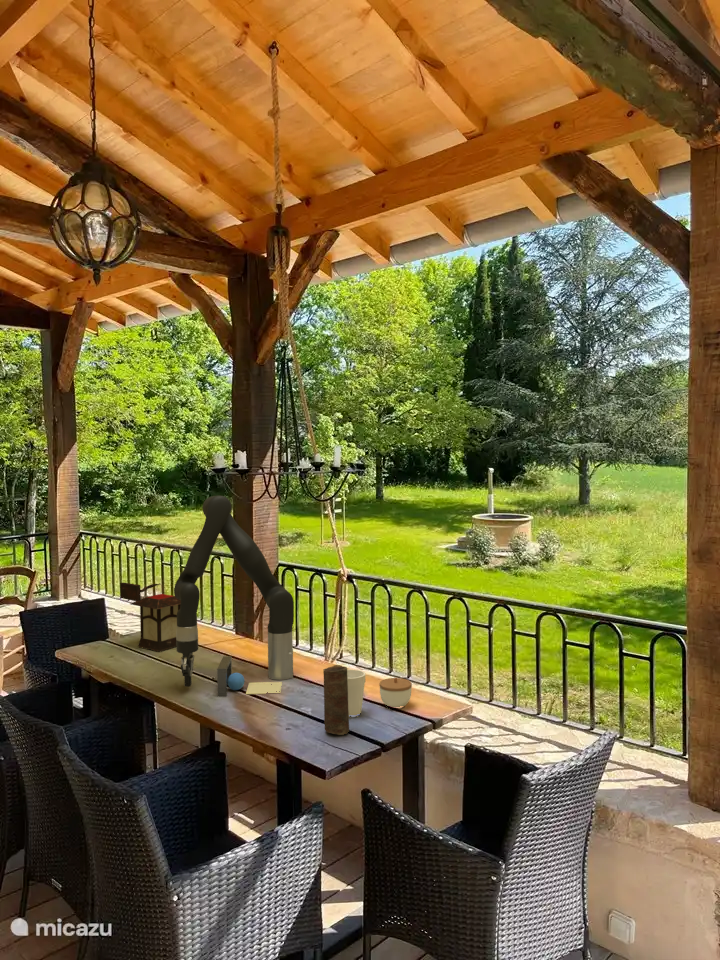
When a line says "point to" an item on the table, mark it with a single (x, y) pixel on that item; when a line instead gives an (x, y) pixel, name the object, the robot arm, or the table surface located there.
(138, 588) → the lantern
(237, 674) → the ball
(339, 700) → the candle
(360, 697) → the foam cup
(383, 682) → the lidded jar
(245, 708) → the table surface
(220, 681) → the bridge
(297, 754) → the table surface
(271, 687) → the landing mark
